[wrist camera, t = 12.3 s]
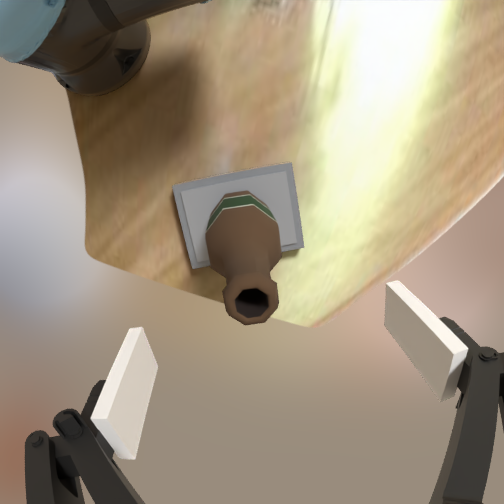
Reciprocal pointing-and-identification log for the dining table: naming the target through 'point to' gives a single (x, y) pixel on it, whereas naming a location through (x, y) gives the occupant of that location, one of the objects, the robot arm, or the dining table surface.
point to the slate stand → (253, 179)
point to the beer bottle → (245, 255)
